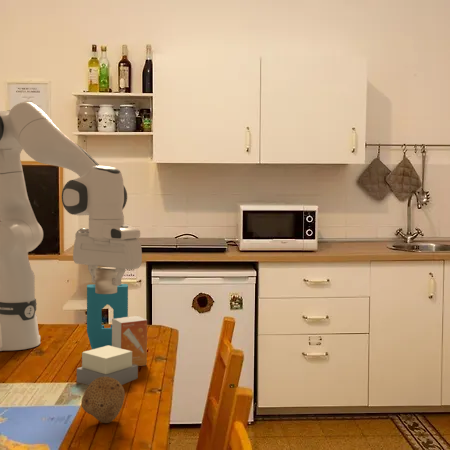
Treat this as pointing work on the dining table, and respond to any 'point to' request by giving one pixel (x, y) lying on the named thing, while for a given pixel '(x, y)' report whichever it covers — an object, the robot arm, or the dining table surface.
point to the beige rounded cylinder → (105, 280)
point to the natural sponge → (103, 399)
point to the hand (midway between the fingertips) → (106, 283)
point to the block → (94, 313)
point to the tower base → (107, 375)
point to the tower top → (107, 359)
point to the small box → (131, 337)
